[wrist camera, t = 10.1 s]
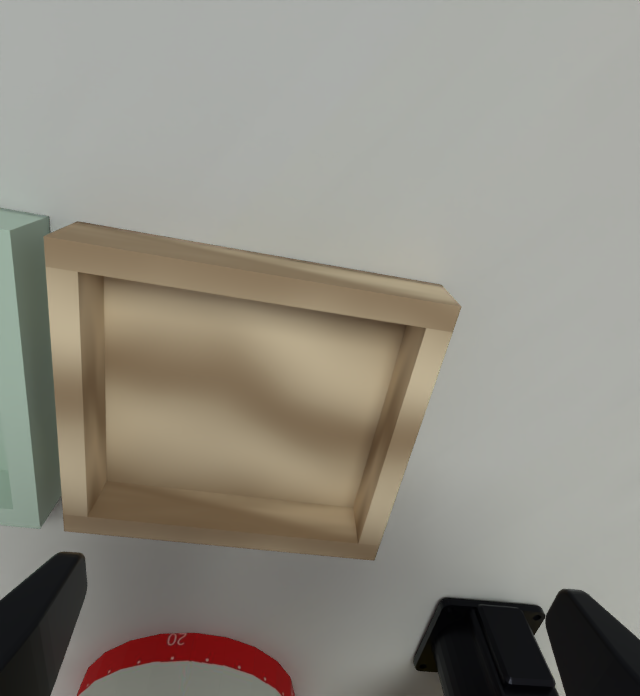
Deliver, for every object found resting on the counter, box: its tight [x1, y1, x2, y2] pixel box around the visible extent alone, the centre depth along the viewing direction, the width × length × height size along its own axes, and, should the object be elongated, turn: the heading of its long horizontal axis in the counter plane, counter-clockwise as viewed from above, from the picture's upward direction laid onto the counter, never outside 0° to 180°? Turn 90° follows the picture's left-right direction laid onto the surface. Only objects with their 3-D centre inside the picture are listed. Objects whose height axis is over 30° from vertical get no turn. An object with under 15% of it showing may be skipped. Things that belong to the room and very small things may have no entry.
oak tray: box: [43, 221, 461, 560], centre depth 19 cm, size 13×14×2 cm
